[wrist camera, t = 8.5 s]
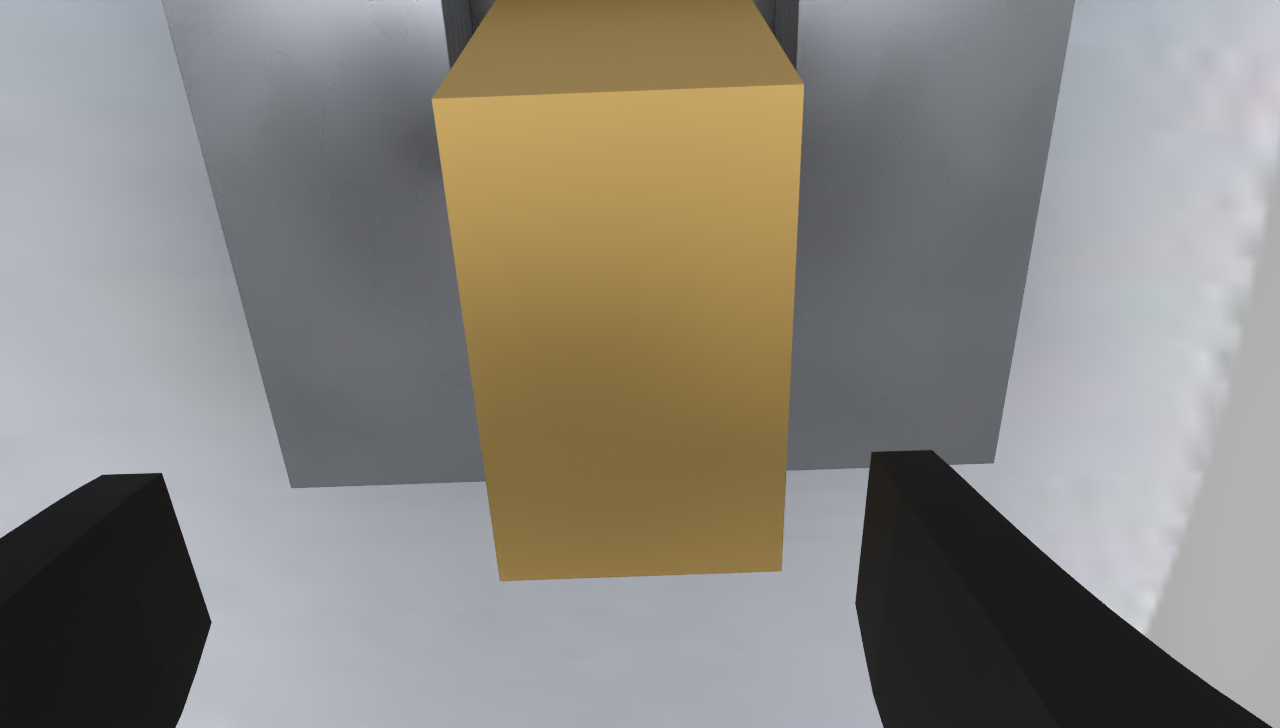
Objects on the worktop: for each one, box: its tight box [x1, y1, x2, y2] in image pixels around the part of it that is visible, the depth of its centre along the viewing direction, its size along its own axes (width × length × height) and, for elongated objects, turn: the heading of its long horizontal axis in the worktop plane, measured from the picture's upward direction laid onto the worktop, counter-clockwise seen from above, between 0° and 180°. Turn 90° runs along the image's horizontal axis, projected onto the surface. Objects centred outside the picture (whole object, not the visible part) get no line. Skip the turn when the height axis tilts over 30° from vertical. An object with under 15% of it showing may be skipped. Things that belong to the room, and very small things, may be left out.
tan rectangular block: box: [432, 0, 804, 581], centre depth 14 cm, size 6×4×8 cm, turn 2°
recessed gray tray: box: [162, 0, 1075, 488], centre depth 16 cm, size 13×13×2 cm
